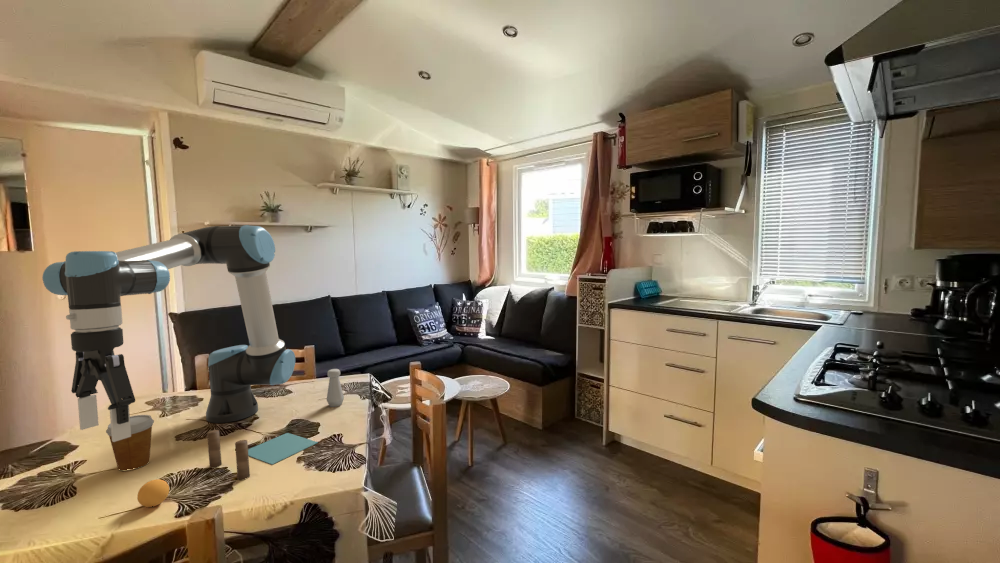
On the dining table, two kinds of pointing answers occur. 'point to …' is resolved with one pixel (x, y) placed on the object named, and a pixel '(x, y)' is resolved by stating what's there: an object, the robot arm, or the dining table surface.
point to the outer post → (242, 459)
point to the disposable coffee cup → (134, 443)
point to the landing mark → (280, 448)
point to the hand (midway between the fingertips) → (105, 433)
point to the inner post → (214, 448)
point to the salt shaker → (334, 389)
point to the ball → (153, 493)
